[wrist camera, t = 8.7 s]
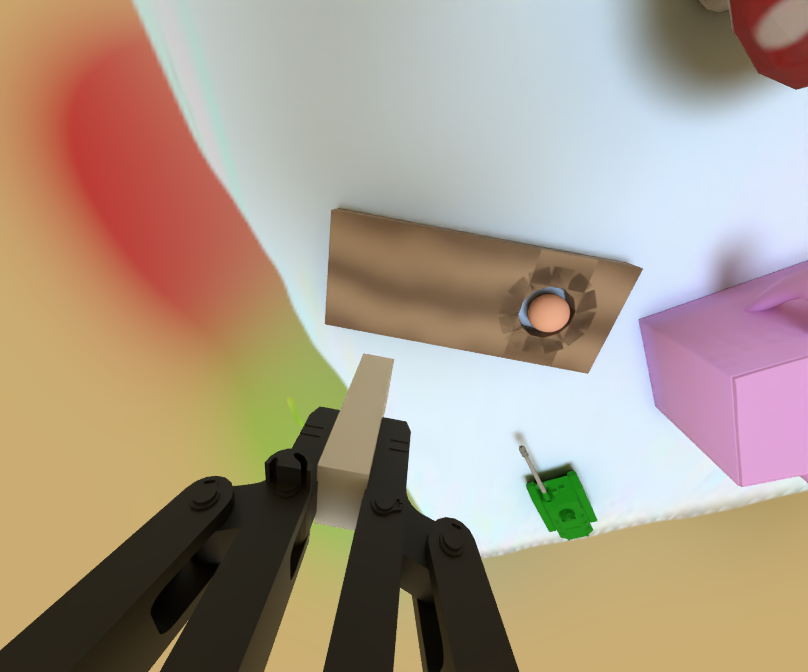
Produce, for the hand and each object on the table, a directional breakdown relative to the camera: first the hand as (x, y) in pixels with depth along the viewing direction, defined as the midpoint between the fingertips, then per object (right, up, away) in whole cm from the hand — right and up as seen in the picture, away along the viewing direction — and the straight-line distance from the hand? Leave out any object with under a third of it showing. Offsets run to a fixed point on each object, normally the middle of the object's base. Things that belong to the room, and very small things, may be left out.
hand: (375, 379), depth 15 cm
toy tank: (+23, -18, +30) cm, 41 cm away
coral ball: (+17, +5, +17) cm, 24 cm away
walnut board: (+9, +7, +18) cm, 22 cm away
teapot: (+37, +1, +19) cm, 42 cm away
